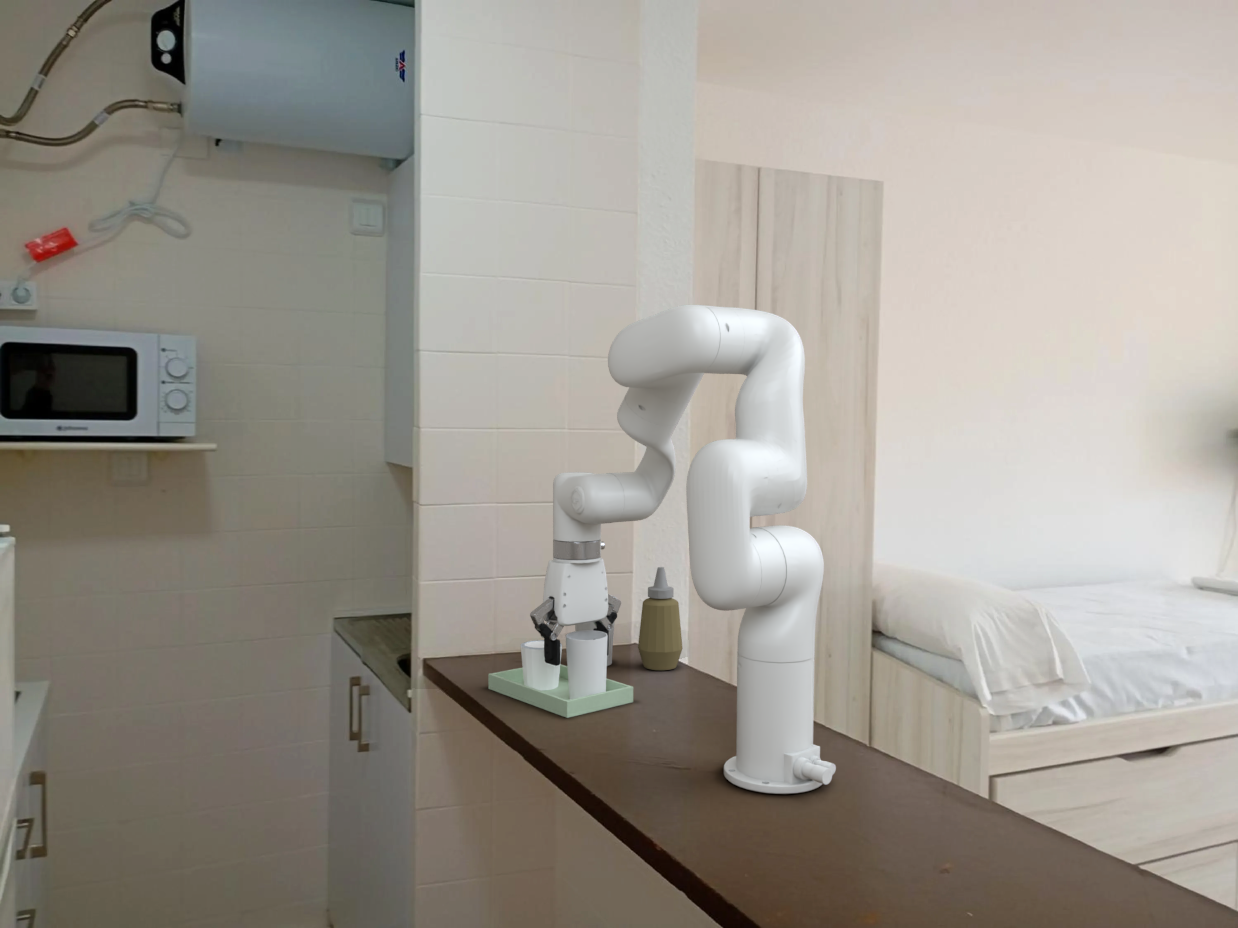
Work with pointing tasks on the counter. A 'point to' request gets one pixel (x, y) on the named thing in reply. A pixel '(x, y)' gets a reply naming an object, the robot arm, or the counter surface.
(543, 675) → the white tapered cup
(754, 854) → the counter surface
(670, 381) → the robot arm
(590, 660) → the white tumbler
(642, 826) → the counter surface
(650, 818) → the counter surface
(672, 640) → the squeeze bottle
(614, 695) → the tray
